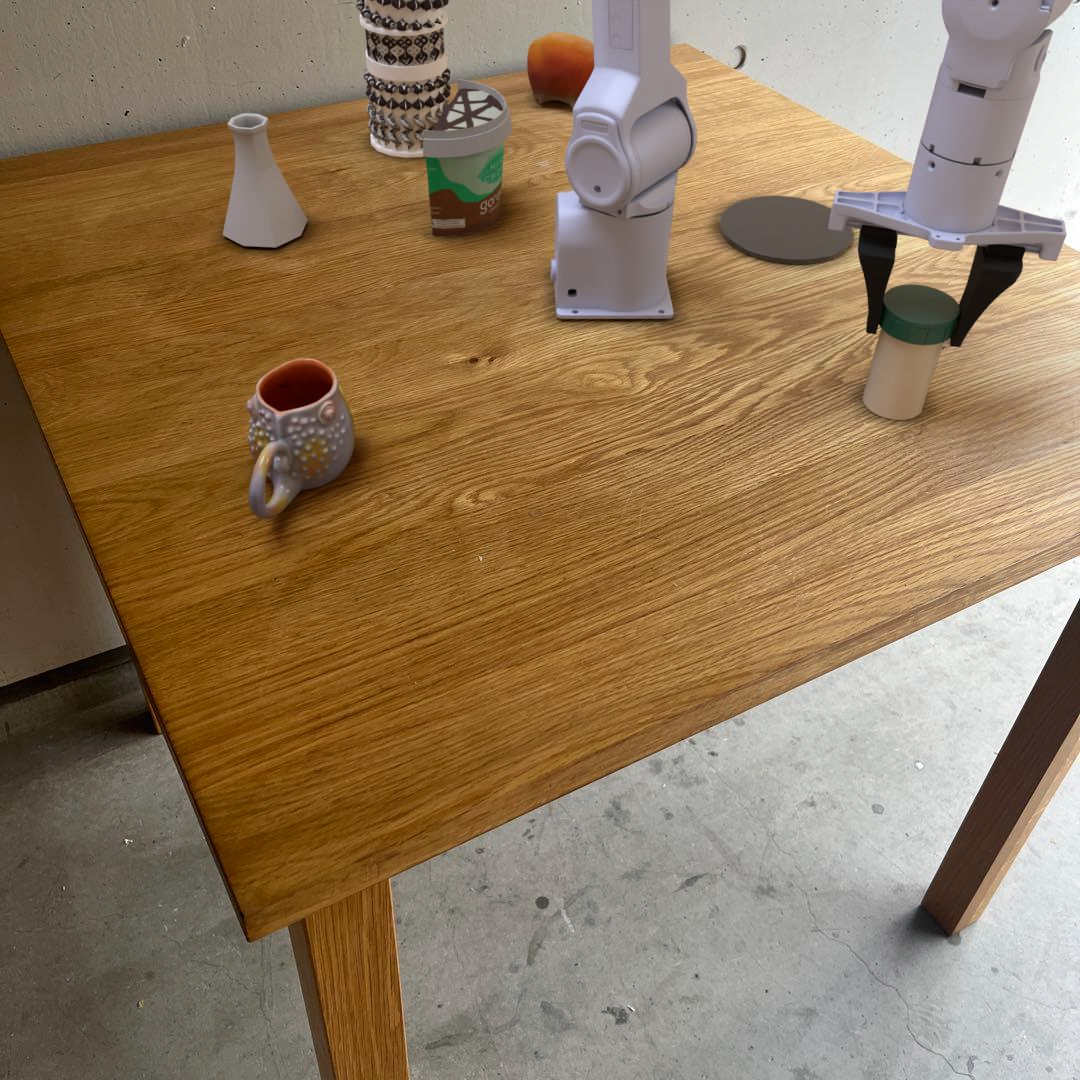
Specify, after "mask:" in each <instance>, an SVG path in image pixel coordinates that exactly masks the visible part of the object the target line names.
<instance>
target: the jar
mask: <svg viewBox="0 0 1080 1080" xmlns="http://www.w3.org/2000/svg"><path fill="white" fill-rule="evenodd" d="M944 343H945V342H943V343H940V344H935V345H916V344H911V343H906V342H903V341H900V340H898V339H895V338H893V337H892V336H890V335H888V334H887V333H886V332H884V331H883V330H882V328H881V327H880V330H879V333H878V337H877V341H876V345H875V349H874V352H873V355H872V359H871V363H870V366H869V371H868V374H867V378H866V382H865V385H864V389H863V393H862V402H863V404H864V406H865V407H866V409H868V410H869V411H870V412H871V413H873V414H874V415H876V416H879V417H881V418H884V419H888V420H894V421H906V420H911V419H914V418H916V417H918V416H919V415H920V414H921V413H922V412H923V409H924V406H925V402H926V399H927V397H928V393H929V390H930V387H931V384H932V381H933V379H934V375H935V372H936V369H937V365H938V363H939V359H940V356H941V353H942V350H943V346H944Z"/></svg>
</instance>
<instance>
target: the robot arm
mask: <svg viewBox="0 0 1080 1080" xmlns="http://www.w3.org/2000/svg"><path fill="white" fill-rule="evenodd" d="M1073 1H1074V0H941V17H942V21H943V24H944V28H945V29H946V32H947V34H948V39H947V43H946V47H945V51H944V54H943V58H942V61H941V63H940V65H939V67H938V71H937V76H936V80H935V84H934V88H933V91H932V94H931V98H930V103H929V106H928V110H927V114H926V117H925V122H924V126H923V129H922V133H921V137H920V140H919V143H918V147H917V151H916V155H915V159H914V162H913V167H912V170H911V175H910V177H909V182H908V184H907V190H889V191H888V190H884V191H881V190H879V191H851V190H850V191H848V190H839V189H837V190H835V191H834V196H833V201H832V206H831V209H832V210H831V214H830V220H829V226H828V229H829V230H836V231H844V230H845V228H846V227H848V228H852V229H856V230H859V232H858V233H859V234H858V243H857V254H858V260H859V264H860V267H861V270H862V274H863V279H864V283H865V289H866V297H867V318H866V327H865V333H866V334H870V335H877V332H878V329H879V327H880V325H879V321H880V315H881V310H882V304H883V298H884V294H885V293H886V292H887V291H886V290H887V288H888V284H889V280H890V277H891V275H892V272H893V268H894V266H895V263H896V262H895V261H896V252H897V251H896V249H897V246H898V236H906V237H914V238H919V239H922V240H925V241H927V242H928V245H929V247H930V248H933V249H937V250H943V251H950V252H960V251H962V250H963V249H964V246H976V248H975V252H974V255H973V258H972V263H971V267H970V269H969V270H970V271H969V274H968V276H967V277H968V278H967V281H966V284H965V287H964V290H963V292H962V294H961V298H960V300H959V302H958V304H959V306H960V315H959V318H958V320H959V321H958V324H957V326H956V329H955V331H954V334H953V335H952V337H951V338H950V339H949V346H950V347H954V348H961V347H962V345H963V343H964V341H965V339H966V338H967V336H968V334H969V332H970V331H971V329H972V328H973V327H974V325H975V324H976V322H977V321H978V320H979V319H980V317H981V316H982V314H984V312H985V311H986V310H987V309H988V308H989V307H990V306H991V304H993V302H995V301H996V299H998V298H999V297H1000V296H1001V295H1002V294H1003V293H1004V292H1005V291H1007V290H1008V289H1009V288H1010V287H1012V286H1013V285H1015V284H1016V282H1017V280H1018V279H1019V278H1020V276H1021V274H1022V272H1023V269H1024V262H1023V259H1024V256H1025V254H1026V253H1029V254H1035V255H1038V258H1039V259H1040V260H1043V261H1048V262H1049V261H1050V262H1057V261H1058V258H1059V257H1060V256H1059V255H1060V253H1061V251H1062V248H1063V245H1064V242H1065V240H1066V237H1067V230H1066V229H1067V228H1066V223H1065V220H1064V219H1057V218H1050V217H1047V216H1042V215H1038V214H1034V213H1030V212H1028V211H1023V210H1019V209H1016V208H1012V207H1009V206H1005V205H1002V204H1000V202H1001V199H1002V196H1003V194H1004V189H1005V187H1006V183H1007V181H1008V177H1009V174H1010V171H1011V170H1012V165H1013V163H1014V159H1015V156H1016V154H1017V150H1018V148H1019V145H1020V141H1021V138H1022V135H1023V133H1024V129H1025V126H1026V123H1027V121H1028V117H1029V114H1030V111H1031V109H1032V104H1033V102H1034V98H1035V97H1036V93H1037V90H1038V87H1039V84H1040V80H1041V70H1042V68H1043V65H1044V63H1045V61H1046V58H1047V55H1048V50H1049V46H1050V43H1051V41H1052V37H1053V33H1054V31H1053V30H1052V29H1051V28H1048V27H1049V26H1050V25H1052V24H1053V23H1054V22H1056V20H1058V19H1059V18H1060V17H1061V16H1062V15H1063V14H1064V13H1065V12H1066V11H1067V9H1068V8H1069V7H1070V5H1071V4H1072V3H1073ZM591 15H592V18H591V19H592V43H593V45H594V70H593V72H592V74H591V76H590V78H589V80H588V82H587V83H586V85H585V87H584V89H583V91H582V92H581V94H580V96H579V98H578V100H577V101H576V102H575V103H574V108H572V132H571V135H570V138H569V141H568V143H567V146H566V149H565V154H564V167H565V173H566V177H567V180H568V182H569V184H570V186H571V188H572V190H568V191H559V192H557V193H556V194H555V206H554V207H555V208H554V209H555V210H554V242H553V246H554V247H553V258H552V259H550V282H552V283H553V288H554V300H555V301H554V302H555V314H556V318H558V319H560V320H669V319H672V318H674V312H675V311H674V308H673V307H674V306H673V303H672V298H671V293H670V289H669V285H668V284H669V283H668V280H667V271H668V263H669V261H668V260H669V254H670V253H669V252H670V242H671V235H672V225H673V216H674V206H675V198H676V186H677V185H678V177H679V170H682V169H683V168H684V167H686V165H688V164H689V162H690V161H691V160H692V158H693V156H694V155H695V151H696V149H697V144H698V130H697V129H698V128H697V125H696V121H695V119H694V116H693V114H692V112H691V108H690V105H689V101H688V100H689V99H688V81H687V78H686V77H685V76H684V75H683V74H682V73H681V71H680V70H678V68H677V67H675V66H674V64H673V63H672V61H671V0H591Z"/></svg>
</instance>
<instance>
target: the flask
mask: <svg viewBox="0 0 1080 1080" xmlns="http://www.w3.org/2000/svg"><path fill="white" fill-rule="evenodd" d="M268 125H269V117H267V116H265V115H262V114H259V113H249V112H247V113H246V112H243V113H240V114H237V115H235V116H232V117H230V119H229V120H228V122H227V128H228V130H229V131H231V132H232V135H233V142H234V171H233V177H232V185H231V190H230V196H229V201H228V205H227V210H226V215H225V220H224V226H223V231H222V236H224V237H225V238H228V239H229V240H231V241H233V242H235V243H236V244H239V245H240V246H241V247H242V246H243V247H258V248H259V247H260V248H278V247H280V246H282V245H284V244H286V243H289V242H291V241H293V240H295V239H297V238H299V237H301V236H302V234H303V231H304V229H305V228H306V225H307V223H308V221H309V219H308V218H307V216H306V214H305V212H304V210H303V208H302V207H301V205H300V203H299V201H297V198H296V197H295V195H294V194H293V192H292V190H291V188H290V187H289V185H288V183H287V181H286V179H285V178H284V175H283V174H282V172H281V170H280V168H279V166H278V164H277V162H276V160H275V157H274V153H273V151H272V149H271V145H270V143H269V139H268V132H267V127H268Z"/></svg>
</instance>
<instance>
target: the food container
mask: <svg viewBox="0 0 1080 1080" xmlns="http://www.w3.org/2000/svg"><path fill="white" fill-rule="evenodd" d="M449 103H450V104H449V105H448V106H446V107H445V109H444V110H443V112H442V114H441V116H440V118H439V120H438V122H437V124H436V126H435V128H434V129H433V131H430V130H424V139H423V157H422V158H425V165H426V176H427V186H428V188H427V189H428V199H429V209H430V210H429V211H430V221H431V222H430V223H431V234H432V236H439V237H451V236H452V237H453V236H464V235H469V234H472V233H477V232H480V231H482V230H484V229H487V228H489V227H490V226H492V225H493V224H494V223H495V222H496V221H497V220H498V218H499V217H500V212H501V211H500V210H501V199H502V198H501V197H502V183H503V168H504V154H505V153H504V152H505V142H506V141H507V140H508V139H509V138H510V136H511V134H512V132H513V122H512V117H511V113H510V107H509V106H508V104H507V102H506V99H505V97H504V96H503V95H502V93H500V92H499V91H497V90H496V89H495V88H492V87H491V86H489V85H486V84H484V83H480V82H476V81H472V80H467V79H461V78H460V79H459V78H457V92H456V93H455V96H454V98H453V99H452V101H450V102H449Z"/></svg>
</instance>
